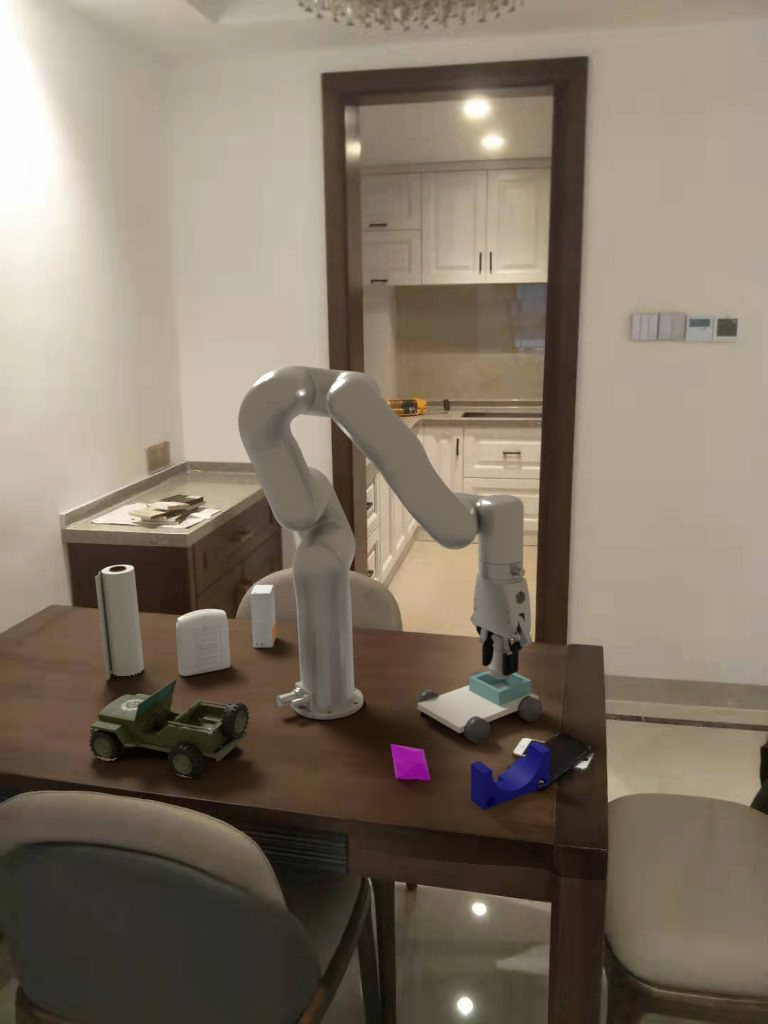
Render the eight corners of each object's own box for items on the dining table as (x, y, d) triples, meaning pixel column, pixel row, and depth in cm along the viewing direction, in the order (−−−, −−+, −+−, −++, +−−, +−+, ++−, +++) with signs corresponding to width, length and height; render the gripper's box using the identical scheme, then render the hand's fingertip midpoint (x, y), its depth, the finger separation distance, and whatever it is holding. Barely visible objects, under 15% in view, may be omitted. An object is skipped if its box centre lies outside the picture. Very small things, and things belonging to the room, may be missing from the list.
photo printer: (227, 660, 177) (223, 602, 174) (233, 668, 173) (229, 609, 170) (176, 671, 173) (171, 611, 170) (182, 679, 169) (176, 618, 166)
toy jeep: (131, 725, 152) (125, 666, 149) (258, 749, 142) (254, 687, 140) (84, 759, 141) (76, 696, 138) (217, 787, 131) (212, 721, 129)
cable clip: (529, 773, 133) (530, 737, 132) (549, 786, 130) (550, 750, 128) (464, 796, 128) (464, 759, 126) (483, 811, 124) (483, 773, 122)
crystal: (398, 787, 130) (397, 759, 129) (389, 769, 135) (388, 741, 134) (431, 782, 131) (431, 754, 130) (421, 764, 136) (421, 737, 135)
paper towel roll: (142, 663, 177) (133, 562, 172) (144, 675, 171) (134, 570, 166) (105, 668, 174) (94, 566, 169) (106, 681, 169) (94, 575, 164)
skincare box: (273, 647, 183) (270, 593, 180) (252, 648, 183) (249, 593, 180) (277, 636, 189) (274, 584, 186) (257, 637, 189) (254, 584, 186)
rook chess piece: (512, 681, 150) (513, 637, 148) (486, 679, 151) (486, 636, 149) (514, 670, 154) (514, 627, 152) (488, 668, 155) (488, 626, 153)
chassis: (466, 748, 140) (466, 717, 139) (411, 715, 152) (410, 686, 151) (546, 716, 151) (546, 686, 149) (488, 687, 162) (488, 659, 161)
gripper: (553, 575, 143) (550, 679, 148) (483, 553, 157) (483, 648, 161) (519, 585, 139) (518, 691, 144) (451, 561, 153) (452, 659, 157)
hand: (500, 667), depth 152 cm, fingers closed on rook chess piece, 4 cm apart
